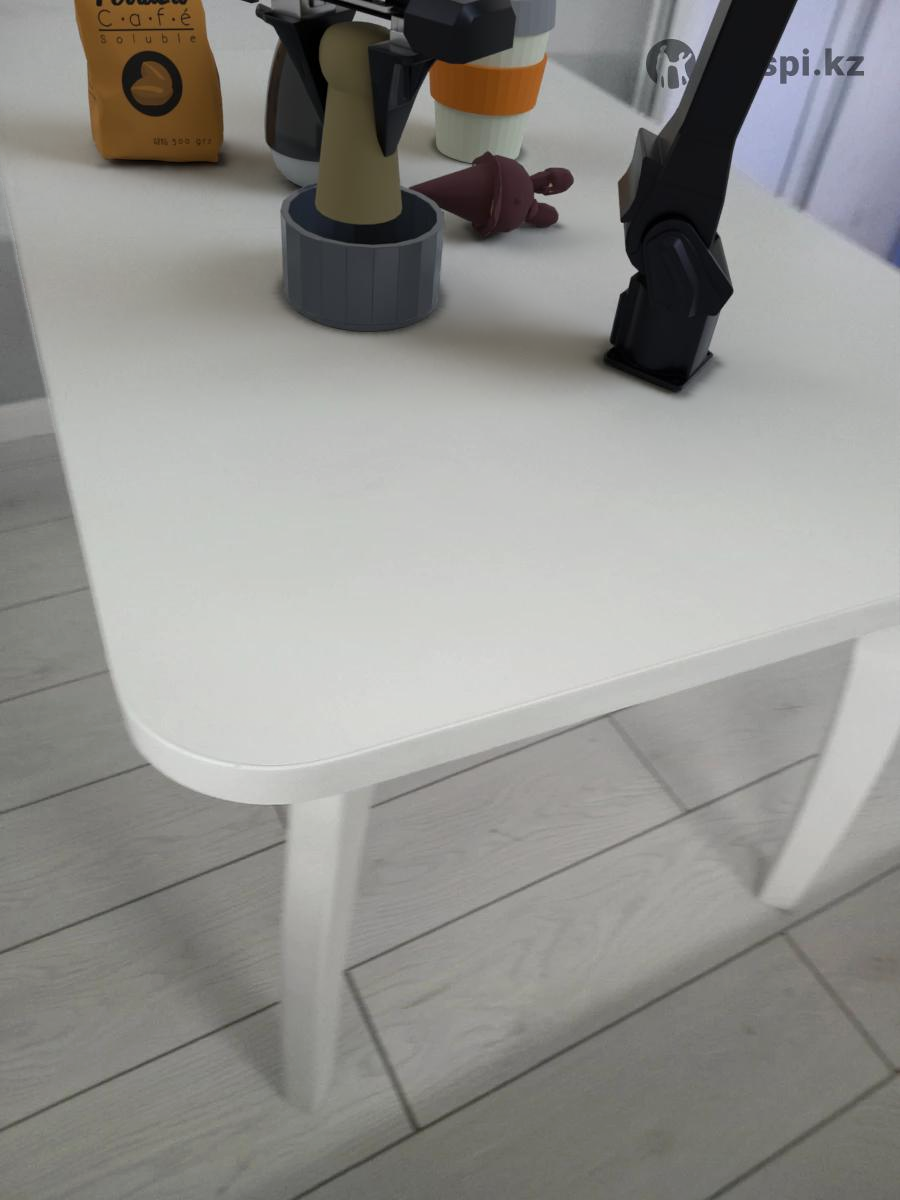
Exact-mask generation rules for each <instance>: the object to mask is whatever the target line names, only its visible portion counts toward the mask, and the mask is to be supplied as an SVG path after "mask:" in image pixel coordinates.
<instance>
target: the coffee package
mask: <svg viewBox="0 0 900 1200" xmlns="http://www.w3.org/2000/svg"><path fill="white" fill-rule="evenodd" d="M73 4H74V11H75V13H74V14H75V22H76V26H77V30H78V35H79V39H80V42H81V45H82V49H83V53H84V57H85V60H86V72H87V75H86V76H87V98H88V99H87V100H88V106H89V107H88V108H89V109H88V110H89V118H90V130H91V137H92V140H93V142H94V144H95V147H96V150H97V152H98V154H99V155H100V156H101V158H103V159H104V160H110V159H114V160H116V159H118V160H132V161H133V160H135V161H136V160H137V161H162V162H170V163H188V162H210V163H218V162H219V161H220V159H219V153H220V151H221V148H222V146H223V143H224V133H225V128H224V127H225V126H224V125H225V123H224V109H223V107H224V105H223V96H222V86H221V78H220V73H219V70H218V66H217V62H216V59H215V55H214V52H213V51H212V48H211V46H210V42H209V39H208V32H207V21H206V11H205V8H204V4H203V1H202V0H73Z"/></svg>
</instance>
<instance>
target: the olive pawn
mask: <svg viewBox="0 0 900 1200" xmlns="http://www.w3.org/2000/svg"><path fill="white" fill-rule="evenodd" d="M387 40H390V28H388V27H386V26H384V25H381V24H379V23H374V22H369V21H361V20H353V21H349V22H341V23H336V24H334V25H332V26H330V27H329V28H327V30H326V31H325V33H324V35H323V37H322V39H321V41H320V46H319V62H320V66H321V70H322V73H323V75H324V77H325V79H326V80H327V82H328V90H327V99H326V109H325V118H324V127H323V136H322V145H321V154H320V163H319V172H318V181H317V190H316V199H315V205H316V208H317V210H318V211H319V212H320V213H321V214H323V215H324V216H326V217H329V218H331V219H333V220H337V221H340V222H344V223H351V224H377V223H383V222H387V221H390V220H392V219H395V218H396V217H397V216H398V215H400V214H401V210H402V201H401V188H400V186H401V177H400V164H399V153H398V152H399V151H398V148H397V149H396V151H395V153H394V154H393V155H390V156H388V157H384V156H383V153H382V150H381V148H380V145H379V143H378V139H377V134H376V125H375V115H374V105H373V95H372V85H371V77H370V67H369V57H368V46H369V45H373V44H376V43H380V42H383V41H387Z"/></svg>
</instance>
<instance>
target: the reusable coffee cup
mask: <svg viewBox="0 0 900 1200" xmlns="http://www.w3.org/2000/svg"><path fill="white" fill-rule="evenodd" d="M511 3H512V5H513V8H514V11H515V14H516V23H515V32H514V41H513V48H511V49H508V50H505V51H502V52H499V53H496V54H493V55H490V56H487V57H484V58H481V59H478V60H475V61H472V62H469V63H466V64H449V63H446V62H443V61H440V60H437V61H436V62H435V63H434V65H433V66H432V67H431V69H430V70H429V72H428V75H429V76H428V78H429V93H430V96H431V98H432V99H433V100H434V101H433V102H434V121H435V122H434V123H435V143H436V144H435V145H436V148H437V150H438V151H439V152H440V153H441V154H443V155H445V156H446V157H447V158H450V159H453V160H456V161H459V162H463V163H468V164H472V162H473V160H474V159H475V158H477V157H479V156H482V155H483V154H484V153H485V152H487V151H489V152H490V153H491V154H492V155H493V156H494V155H500V156H503V157H507V158H510V159H514V160H516V159H518V157H519V155H520V151H521V148H522V143H523V140H524V137H525V132H526V128H527V124H528V120H529V116H530V112H531V111H532V110H533V109H534V108H535V107H536V105H537V102H538V98H539V94H540V89H541V85H542V82H543V78H544V73H545V70H546V66H547V62H548V55H547V53H546V49H547V45H548V42H549V38H550V34H551V31H552V30H553V29H554V28H555V27H556V14H557V11H556V10H557V0H511Z"/></svg>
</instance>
